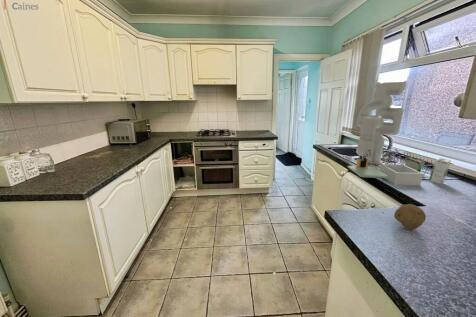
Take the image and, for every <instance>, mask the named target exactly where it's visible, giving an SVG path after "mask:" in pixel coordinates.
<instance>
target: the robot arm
mask: <svg viewBox="0 0 476 317" xmlns="http://www.w3.org/2000/svg"><path fill="white" fill-rule="evenodd" d="M406 87H407V80H406V79H382V80H378V81H376V82H375V86H374V92H373V95H372V98H371V101H370V102H367V103H366V104H365V105H364V106H362V108H361V109H360V110H359V112H358V116H357V118H356V125H357V127H360V128H361V130H360V132H359V133H360V135H359V140H358V142H357V146H356V154H357V155H358V159H362V161H361V163H360V167H366V162H367V160H369V161H368V164H371V165H381V164H384V163H383V162H384V161H383V160H381V159H382V155H383V151H384V147H385V138H384V136H383V135H386V136H396V135H397V136H398V134H399V131H400V128H401V123H402V119H403V114H404V109H403V107H402V106H399V105H392V104H393V97H392V96H401V95H402V93H404V92H405V90H406ZM374 110H375V115H369V114H368V115H367V113H369V112H372V111H374ZM385 120H389V121H385Z"/></svg>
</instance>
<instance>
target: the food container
mask: <svg viewBox="0 0 476 317" xmlns="http://www.w3.org/2000/svg"><path fill="white" fill-rule="evenodd" d="M425 162H426V161H425V160H424V159H422V158H418V157H412V156H406V158H405V164H404V165H406V166H408V167H410V168H412V169H414V170H416V171H419V172H421V170H422V169H423V167H424V165H426V164H425ZM421 173H422V172H421Z"/></svg>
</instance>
